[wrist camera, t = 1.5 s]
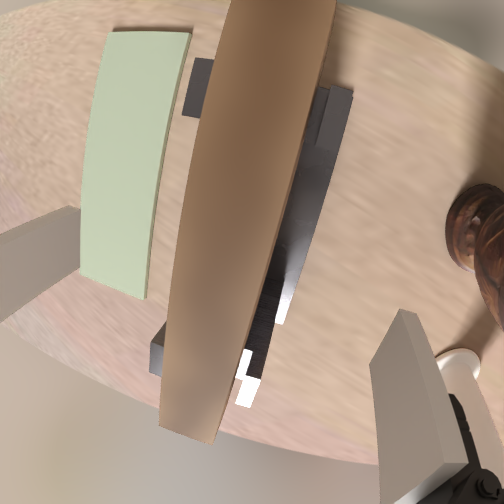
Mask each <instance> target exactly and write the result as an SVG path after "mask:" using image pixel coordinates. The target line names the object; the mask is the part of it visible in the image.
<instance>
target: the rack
mask: <svg viewBox="0 0 504 504" xmlns="http://www.w3.org/2000/svg"><path fill="white" fill-rule="evenodd" d="M213 63H214V60H212V59H204V58H196V57H195V61H194V65H193V69H192V72H191V76H190V81H189V85H188V89H187V93H186V97H185V102H184V106H183V111H182V115H184V116H189V117H195V118H200V117H201V112H202V108H203V104H204V99H205V95H206V91H207V87H208V83H209V79H210V75H211V71H212V67H213ZM352 94H353V91H351V90H348V89H345V88H341V87H338V86H335V85H331V88H330V90H329V89H326V88H322V87H318V89H317V93H316V96H315V100H314V104H313V108H312V112H311V115H310V119H309V123H308V127H307V130H306V134H305V138H304V142H303V145H302V149H301V153H300V156H299V160H298V164H297V167H296V171H295V175H294V178H293V182H292V186H291V189H290V193H289V196H288V200H287V204H286V207H285V211H284V214H283V218H282V221H281V225H280V228H279V232H278V235H277V239H276V242H275V246H274V249H273V253H272V256H271V260H270V263H269V267H268V270H267V274H266V277H265V280H264V284H263V287H262V291H261V294H260V297H259V301H258V304H257V308H256V311H255V314H254V318H253V321H252V324H251V328H250V331H249V334H248V338H247V341H246V344H245V348H244V351H243V354H242V357H241V361H240V364H239V367H238V371H237V374H236V378H239V379H242V380H243V383H242V386H241V389H240V392H239V395H238V398H237V401H236V404H239V405H243V406H246V407H249V408H250V405H251V403H252V400H253V398H254V395H255V393H256V390H257V388H258V385H259V383H260V380H261V376H262V372H263V368H264V364H265V360H266V356H267V352H268V348H269V344H270V340H271V336H272V332H273V328H274V324H275V322H276V323H279V324H282V325H283V322H284V319H285V316H286V313H287V311H288V308H289V305H290V302H291V299H292V296H293V294H294V291H295V288H296V285H297V282H298V279H299V276H300V273H301V270H302V267H303V264H304V261H305V258H306V255H307V252H308V249H309V246H310V243H311V240H312V237H313V234H314V231H315V228H316V225H317V221H318V218H319V215H320V212H321V209H322V205H323V202H324V199H325V196H326V192H327V189H328V186H329V182H330V179H331V176H332V172H333V169H334V165H335V162H336V158H337V155H338V152H339V148H340V144H341V141H342V137H343V134H344V130H345V126H346V123H347V119H348V115H349V112H350V108H351V104H352V100H353V97H352ZM166 323H167V321H166V322H165V324H164V325H163V326H162V328H161V329H160V330H159V332H158V333H157V334H156V335H155V337H154V338H153V339H152V341H151V345H150V365H149V372H150V373H153V374H155V375H158V376H160V377H162V366H163V354H164V343H165V333H166Z"/></svg>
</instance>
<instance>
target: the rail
mask: <svg viewBox="0 0 504 504" xmlns="http://www.w3.org/2000/svg"><path fill="white" fill-rule="evenodd" d="M336 4H337V0H231V4H230V7H229V10H228V13H227V17H226V20H225V24H224V27H223V30H222V34H221V38H220V41H219V45H218V48H217V52H216V56H215V60H214V63H213V67H212V71H211V75H210V79H209V83H208V87H207V91H206V95H205V99H204V104H203V108H202V112H201V117H200V121H199V126H198V130H197V135H196V140H195V144H194V149H193V154H192V159H191V164H190V169H189V175H188V180H187V185H186V191H185V196H184V202H183V208H182V214H181V220H180V226H179V232H178V239H177V245H176V252H175V259H174V266H173V273H172V281H171V289H170V297H169V305H168V314H167V323H166V333H165V343H164V354H163V366H162V379H161V393H160V411H159V426H161V427H163V428H166V429H168V430H171V431H174V432H176V433H179V434H181V435H184V436H187V437H190V438H192V439H195V440H198V441H201V442H204V443H207V444H210V445H213V442H214V439H215V437H216V434H217V431H218V428H219V426H220V423H221V420H222V417H223V414H224V412H225V409H226V406H227V403H228V400H229V396H230V393H231V390H232V387H233V383H234V380H235V377H236V374H237V371H238V367H239V364H240V361H241V357H242V354H243V351H244V348H245V344H246V341H247V338H248V334H249V331H250V328H251V324H252V321H253V318H254V314H255V311H256V308H257V304H258V301H259V297H260V294H261V291H262V287H263V284H264V280H265V277H266V274H267V270H268V267H269V263H270V260H271V256H272V253H273V249H274V246H275V242H276V239H277V235H278V232H279V228H280V225H281V221H282V218H283V214H284V211H285V207H286V204H287V200H288V196H289V193H290V189H291V186H292V182H293V178H294V175H295V171H296V167H297V164H298V160H299V156H300V153H301V149H302V145H303V142H304V138H305V134H306V130H307V127H308V123H309V119H310V115H311V112H312V108H313V104H314V100H315V96H316V93H317V89H318V85H319V81H320V77H321V73H322V69H323V65H324V62H325V58H326V54H327V50H328V46H329V42H330V38H331V34H332V30H333V24H334V18H335V11H336Z"/></svg>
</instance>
